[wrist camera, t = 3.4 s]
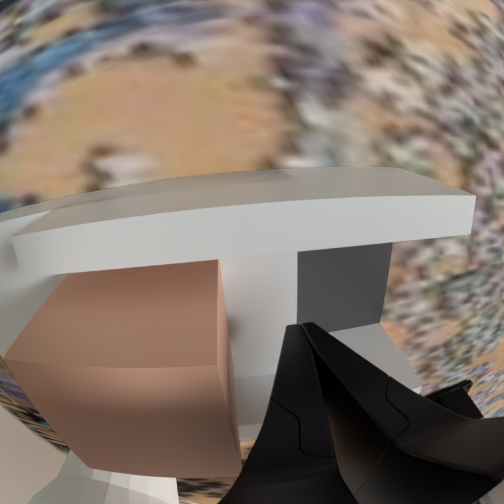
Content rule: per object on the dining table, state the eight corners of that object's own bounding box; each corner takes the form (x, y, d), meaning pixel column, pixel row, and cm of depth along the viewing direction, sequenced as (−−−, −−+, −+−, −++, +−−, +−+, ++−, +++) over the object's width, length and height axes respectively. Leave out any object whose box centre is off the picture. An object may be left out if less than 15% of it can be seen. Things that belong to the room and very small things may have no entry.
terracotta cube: (233, 365, 11) (242, 476, 7) (117, 369, 11) (89, 468, 6) (218, 249, 9) (217, 364, 5) (77, 263, 9) (2, 358, 4)
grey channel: (373, 336, 15) (414, 403, 10) (35, 358, 14) (3, 416, 9) (394, 167, 11) (475, 195, 7) (-20, 218, 10) (-83, 258, 5)
